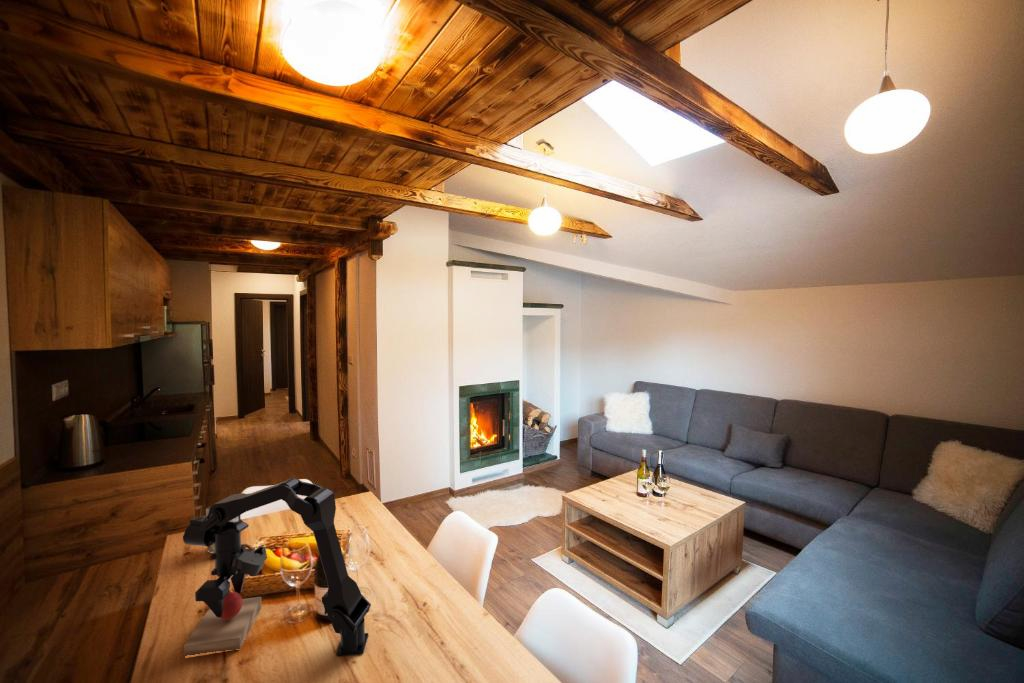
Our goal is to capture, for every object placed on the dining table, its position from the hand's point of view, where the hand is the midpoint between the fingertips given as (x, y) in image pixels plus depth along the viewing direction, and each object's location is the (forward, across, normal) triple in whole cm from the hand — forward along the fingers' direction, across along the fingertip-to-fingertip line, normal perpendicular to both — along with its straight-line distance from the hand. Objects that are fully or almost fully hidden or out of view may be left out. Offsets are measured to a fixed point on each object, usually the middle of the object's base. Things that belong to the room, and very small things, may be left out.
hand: (229, 604), depth 110 cm
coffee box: (+8, +42, +23) cm, 49 cm away
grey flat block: (+8, 0, +1) cm, 8 cm away
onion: (+4, 0, 0) cm, 4 cm away
